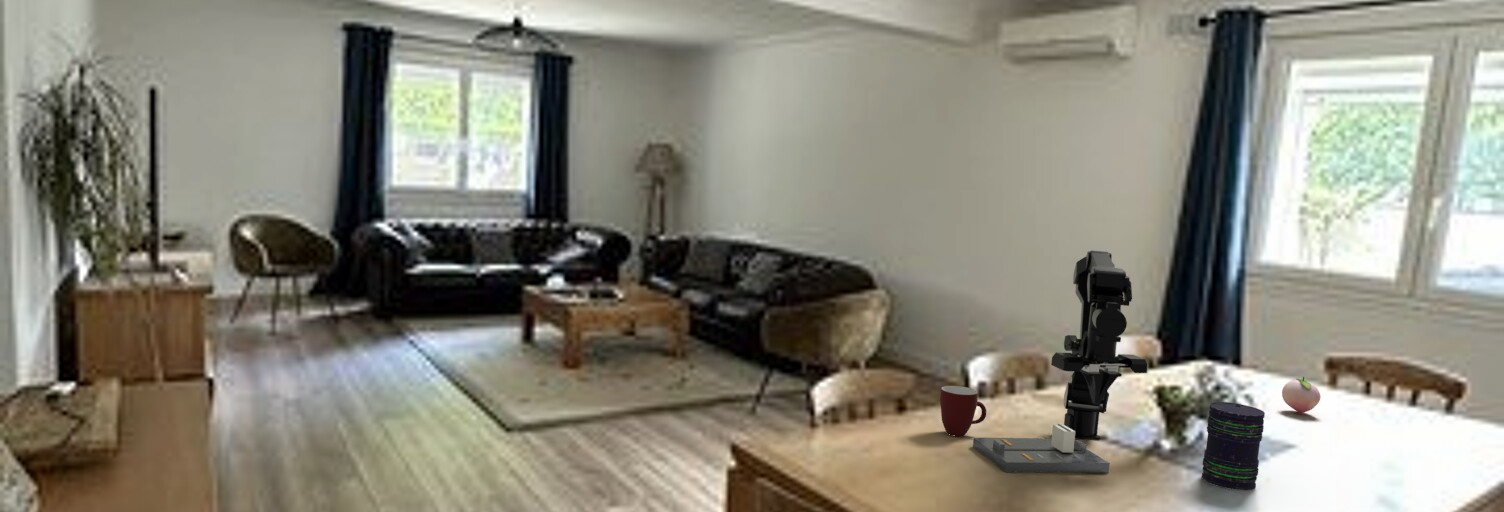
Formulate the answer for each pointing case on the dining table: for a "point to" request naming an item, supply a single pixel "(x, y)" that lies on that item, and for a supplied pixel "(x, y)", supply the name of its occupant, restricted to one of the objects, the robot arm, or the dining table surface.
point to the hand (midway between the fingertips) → (1095, 403)
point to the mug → (959, 409)
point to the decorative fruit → (1300, 395)
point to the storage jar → (1233, 446)
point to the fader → (1063, 438)
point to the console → (1039, 456)
